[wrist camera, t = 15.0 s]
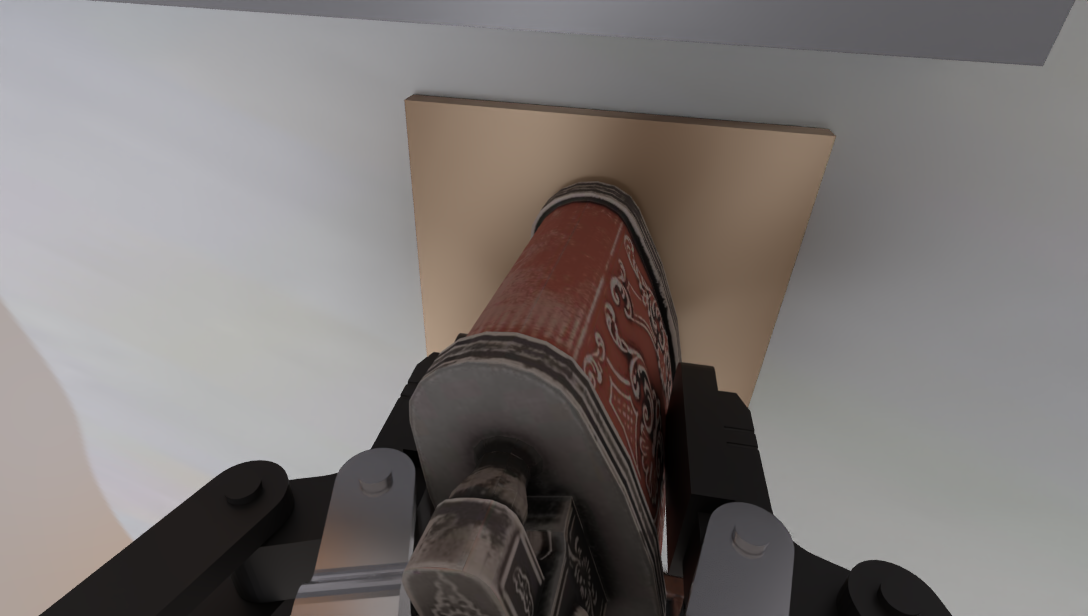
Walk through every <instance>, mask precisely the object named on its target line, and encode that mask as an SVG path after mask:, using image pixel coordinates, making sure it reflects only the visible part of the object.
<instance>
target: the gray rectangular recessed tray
mask: <svg viewBox="0 0 1088 616" xmlns="http://www.w3.org/2000/svg"><path fill="white" fill-rule="evenodd" d="M92 1H106V2H121V3H135V4H150V5H164V6H179V7H193V8H208V9H222V10H237V11H251V12H266V13H280V14H295V15H309V16H324V17H338V18H353V19H367V20H382V21H396V22H411V23H425V24H440V25H454V26H469V27H483V28H497V29H512V30H526V31H541V32H555V33H570V34H584V35H599V36H613V37H628V38H642V39H657V40H671V41H686V42H700V43H715V44H729V45H744V46H758V47H773V48H787V49H802V50H816V51H831V52H845V53H860V54H874V55H889V56H903V57H918V58H932V59H946V60H961V61H975V62H990V63H1004V64H1019V65H1033V66H1043V65H1044V63H1045V61H1046V59H1047V57H1048V54H1049V52H1050V50H1051V48H1052V46H1053V44H1054V42H1055V40H1056V38H1057V36H1058V34H1059V32H1060V30H1061V28H1062V26H1063V24H1064V22H1065V20H1066V18H1067V16H1068V14H1069V12H1070V10H1071V8H1072V6H1073V4H1074V1H1075V0H92Z"/></svg>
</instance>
